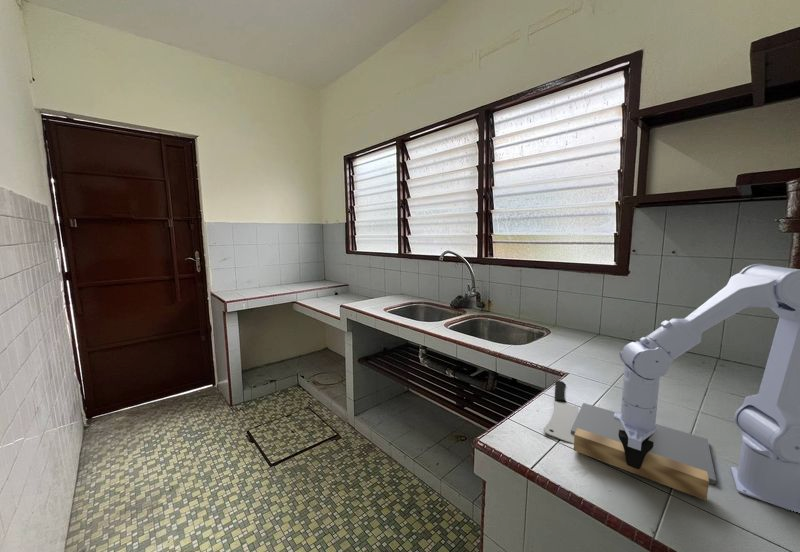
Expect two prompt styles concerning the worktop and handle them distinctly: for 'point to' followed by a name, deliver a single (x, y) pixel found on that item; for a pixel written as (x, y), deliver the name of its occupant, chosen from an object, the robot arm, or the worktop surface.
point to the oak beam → (644, 464)
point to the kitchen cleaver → (562, 416)
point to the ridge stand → (651, 439)
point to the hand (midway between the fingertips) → (633, 461)
